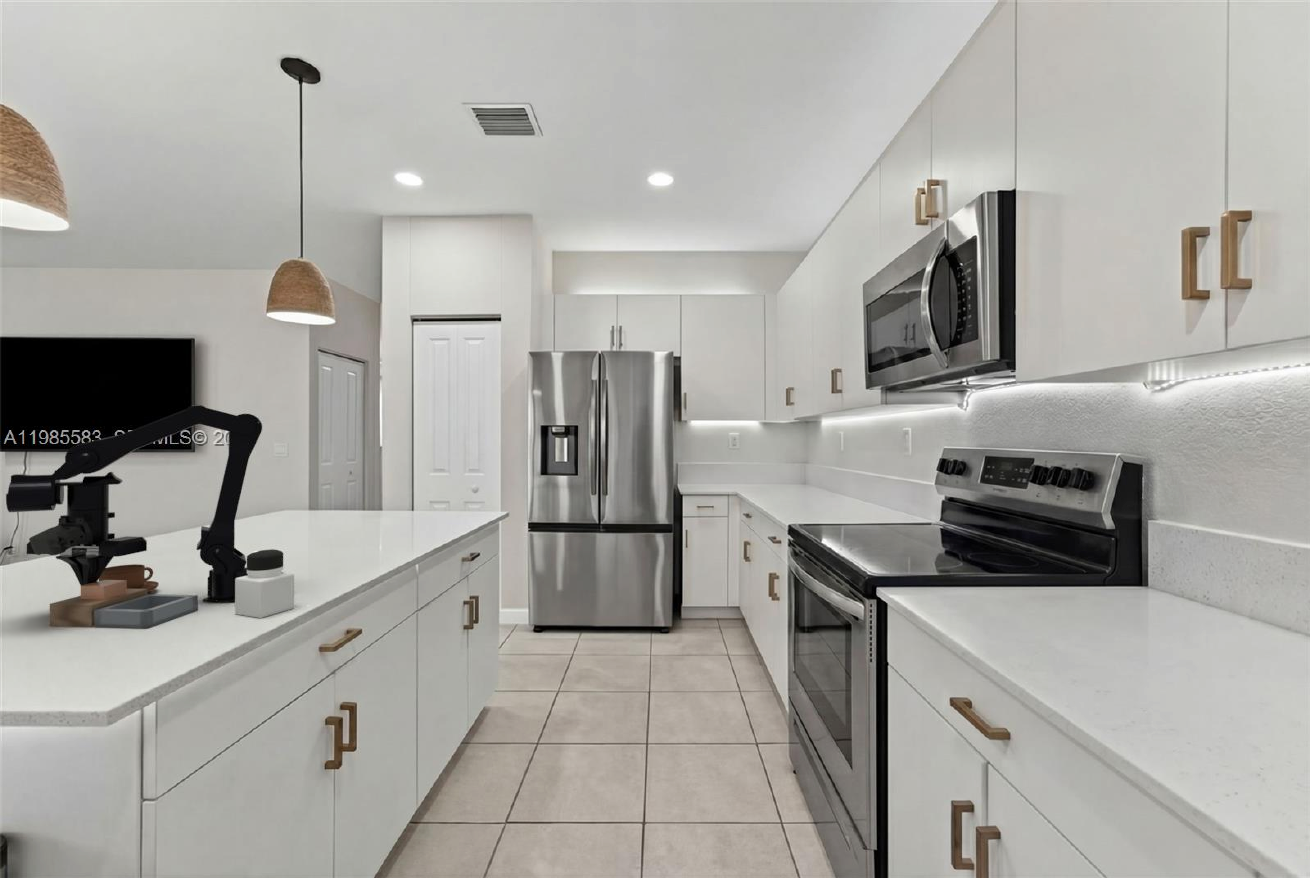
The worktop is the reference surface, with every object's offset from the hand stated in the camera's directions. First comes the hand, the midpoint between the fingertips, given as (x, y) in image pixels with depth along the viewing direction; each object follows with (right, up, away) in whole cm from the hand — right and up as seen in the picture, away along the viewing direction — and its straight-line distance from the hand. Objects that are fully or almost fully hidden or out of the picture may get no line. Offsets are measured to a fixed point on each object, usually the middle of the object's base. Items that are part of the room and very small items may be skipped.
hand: (87, 590), depth 112 cm
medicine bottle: (+31, -6, +4) cm, 32 cm away
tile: (+3, -1, 0) cm, 3 cm away
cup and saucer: (-6, -5, +14) cm, 17 cm away
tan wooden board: (+3, -5, 0) cm, 6 cm away
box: (+12, -5, -1) cm, 13 cm away
